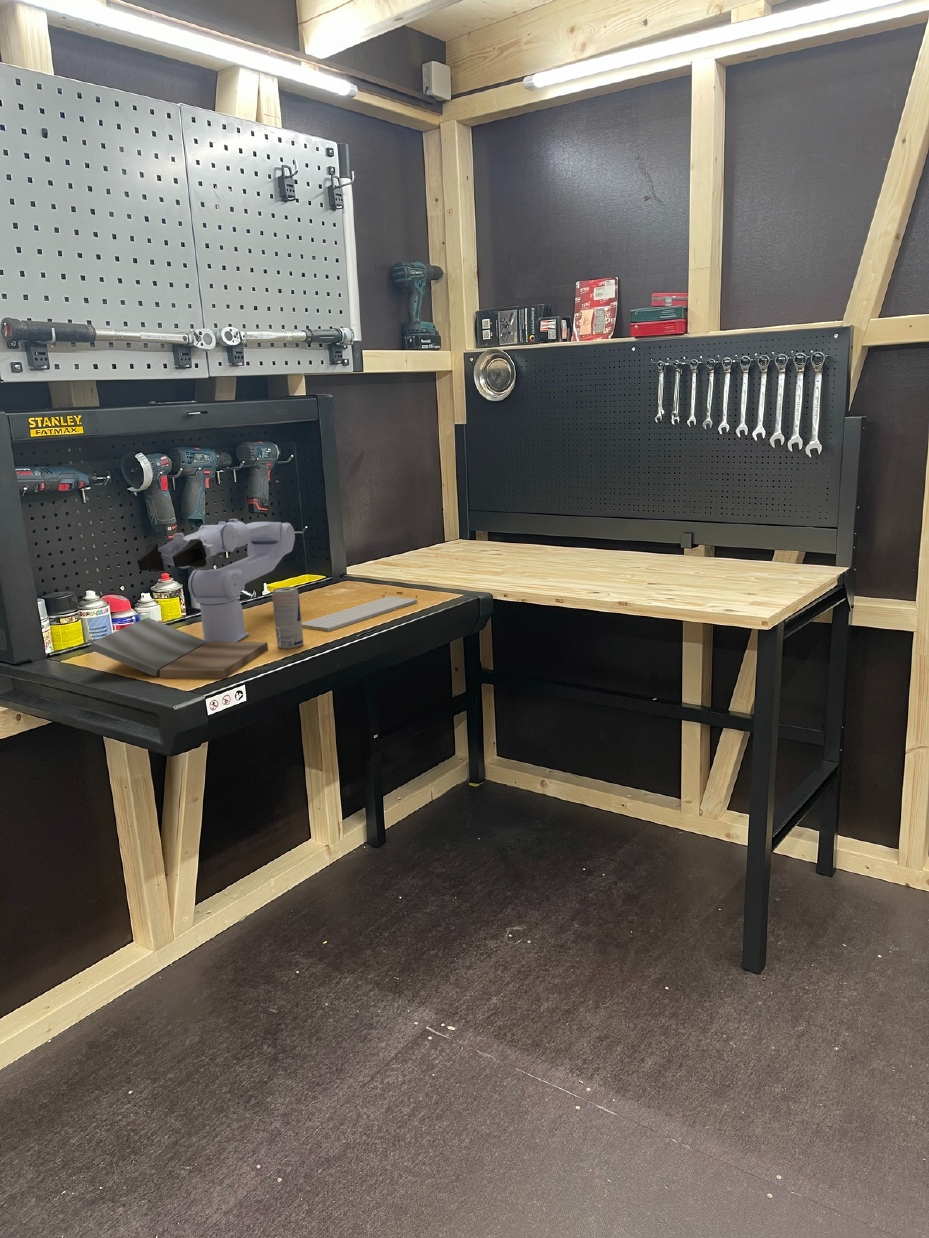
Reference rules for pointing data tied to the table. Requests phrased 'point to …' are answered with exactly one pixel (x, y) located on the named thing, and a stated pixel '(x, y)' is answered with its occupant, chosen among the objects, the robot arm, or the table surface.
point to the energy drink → (287, 617)
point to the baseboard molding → (358, 613)
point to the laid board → (214, 660)
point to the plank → (147, 645)
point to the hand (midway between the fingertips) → (157, 563)
